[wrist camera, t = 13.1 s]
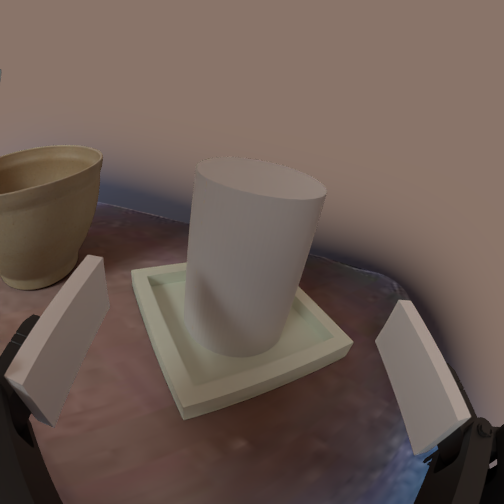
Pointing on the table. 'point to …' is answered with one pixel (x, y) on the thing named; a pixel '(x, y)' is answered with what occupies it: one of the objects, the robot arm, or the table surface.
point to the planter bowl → (45, 211)
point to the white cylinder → (247, 251)
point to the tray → (224, 367)
